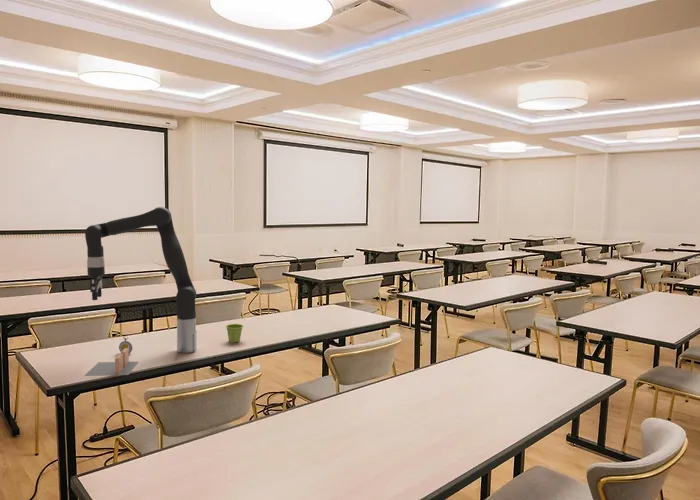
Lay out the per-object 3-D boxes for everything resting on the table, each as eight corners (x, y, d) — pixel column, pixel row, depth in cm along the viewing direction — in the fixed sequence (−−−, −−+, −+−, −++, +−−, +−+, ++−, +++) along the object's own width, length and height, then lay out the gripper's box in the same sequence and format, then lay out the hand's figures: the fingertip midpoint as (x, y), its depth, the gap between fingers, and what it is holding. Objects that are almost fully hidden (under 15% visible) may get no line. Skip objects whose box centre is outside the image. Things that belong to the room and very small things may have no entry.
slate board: (139, 364, 236) (139, 361, 236) (128, 377, 218) (128, 374, 218) (98, 364, 233) (98, 362, 233) (84, 378, 216) (84, 375, 216)
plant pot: (245, 339, 282) (245, 324, 281) (240, 344, 273) (240, 328, 272) (229, 338, 283) (229, 323, 282) (223, 343, 274) (223, 327, 273)
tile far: (128, 362, 234) (128, 348, 233) (125, 367, 228) (124, 352, 227) (125, 362, 234) (124, 348, 233) (121, 367, 228) (121, 352, 227)
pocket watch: (114, 361, 239) (114, 340, 238) (113, 355, 247) (113, 336, 246) (133, 359, 243) (133, 338, 242) (131, 354, 251) (131, 334, 250)
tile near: (123, 369, 225) (122, 354, 224) (118, 373, 219) (118, 358, 218) (119, 369, 225) (118, 354, 224) (115, 373, 219) (114, 358, 218)
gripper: (100, 267, 239) (102, 301, 241) (107, 263, 253) (108, 295, 255) (83, 267, 237) (84, 301, 239) (91, 264, 251) (92, 295, 253)
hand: (97, 298), depth 247 cm, fingers open, 8 cm apart
